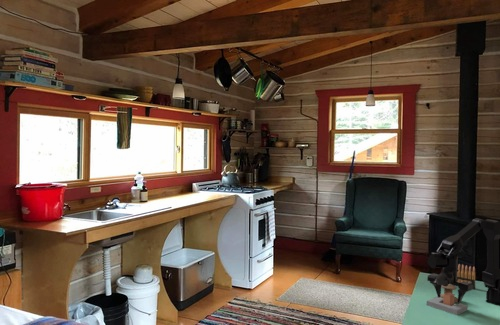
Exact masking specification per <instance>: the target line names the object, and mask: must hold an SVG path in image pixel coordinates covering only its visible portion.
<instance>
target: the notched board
mask: <svg viewBox="0 0 500 325" xmlns="http://www.w3.org/2000/svg"><path fill="white" fill-rule="evenodd" d="M426 306H429V307H432V308H435V309H438V310H440V311H444V312H447V313H449V314H453V315H456V316H458V315H460V314H462V313H465V312H467V311H468V310H469V308H468V307H469V306H468V305H466V304H463V303H461V302H460V303H459V304H458V303H454V305H453V306H449V305H446V304H443V298H441V297H440V298H438V296H436V297H433V298H430V299H427V300H426Z"/></svg>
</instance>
